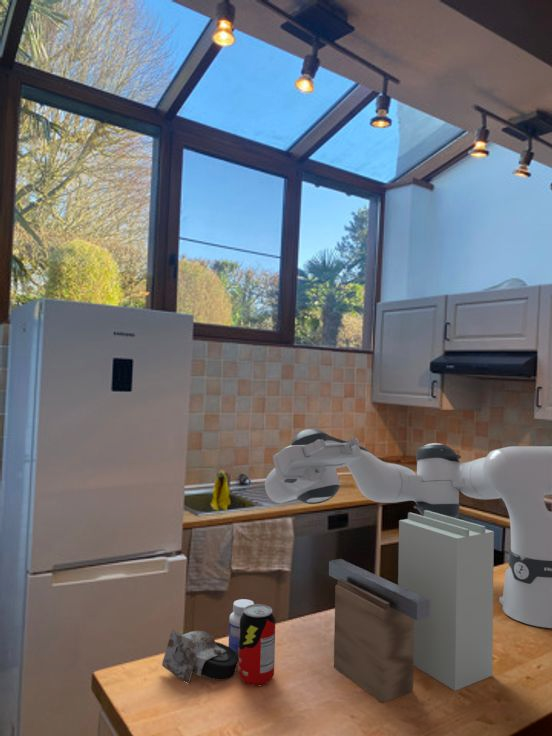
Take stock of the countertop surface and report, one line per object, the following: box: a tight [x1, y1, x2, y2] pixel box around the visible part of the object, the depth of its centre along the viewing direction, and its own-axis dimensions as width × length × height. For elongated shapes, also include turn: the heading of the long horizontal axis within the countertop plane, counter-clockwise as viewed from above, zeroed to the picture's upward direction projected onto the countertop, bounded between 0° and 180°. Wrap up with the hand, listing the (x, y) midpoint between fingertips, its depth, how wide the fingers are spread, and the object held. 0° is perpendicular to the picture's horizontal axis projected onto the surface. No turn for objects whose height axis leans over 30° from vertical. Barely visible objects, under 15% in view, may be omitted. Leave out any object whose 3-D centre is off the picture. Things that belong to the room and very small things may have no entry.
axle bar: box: [328, 558, 429, 620], centre depth 97 cm, size 3×23×3 cm, turn 32°
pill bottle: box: [227, 598, 255, 661], centre depth 104 cm, size 5×5×10 cm
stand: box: [397, 510, 495, 692], centre depth 102 cm, size 10×14×27 cm
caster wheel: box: [161, 629, 239, 684], centre depth 98 cm, size 7×11×10 cm
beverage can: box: [238, 603, 276, 687], centre depth 96 cm, size 6×6×12 cm
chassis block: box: [333, 578, 414, 704], centre depth 97 cm, size 7×13×16 cm, turn 32°
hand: (339, 441), depth 117 cm, fingers open, 8 cm apart
